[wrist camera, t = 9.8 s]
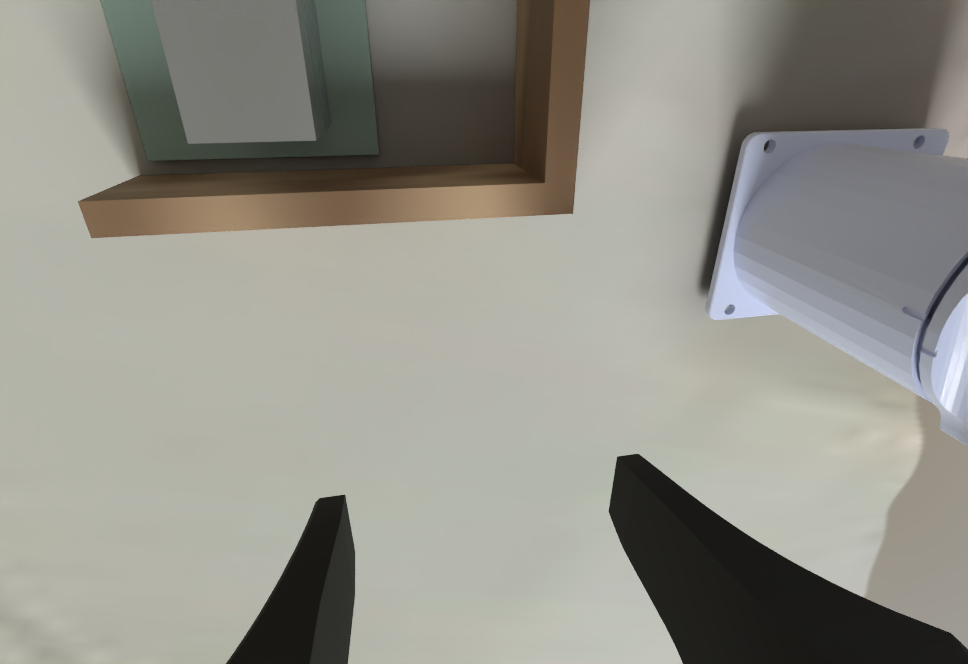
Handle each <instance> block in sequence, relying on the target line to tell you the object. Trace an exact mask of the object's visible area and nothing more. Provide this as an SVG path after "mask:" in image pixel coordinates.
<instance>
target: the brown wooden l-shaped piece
mask: <svg viewBox="0 0 968 664" xmlns="http://www.w3.org/2000/svg"><path fill="white" fill-rule="evenodd" d="M589 6H590V0H518V10H517V51H516V92H515V132H514V163H511V164H480V165H449V166H418V167H387V168H356V169H325V170H294V171H263V172H232V173H201V174H170V175H140V176H137V177H135V178H132V179H130V180H128V181H125V182H123V183H121V184H118V185H116V186H113V187H111V188H109V189H106V190H104V191H102V192H99V193H97V194H95V195H92V196H90V197H87V198H85V199H83V200H80V201H78V203H79V206H80V208H81V211H82V214H83V217H84V219H85V222H86V225H87V227H88V230H89V233H90V235H91V238H101V237H121V236H140V235H160V234H180V233H199V232H219V231H239V230H258V229H278V228H298V227H317V226H337V225H357V224H377V223H396V222H416V221H436V220H455V219H475V218H495V217H514V216H534V215H554V214H573V206H574V193H575V181H576V168H577V156H578V143H579V131H580V118H581V106H582V93H583V81H584V68H585V56H586V43H587V31H588V18H589Z"/></svg>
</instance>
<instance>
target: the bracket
mask: <svg viewBox="0 0 968 664" xmlns="http://www.w3.org/2000/svg"><path fill="white" fill-rule="evenodd" d="M151 2H152V6H153V10H154V14H155V18H156V22H157V26H158V30H159V33H160V37H161V41H162V45H163V49H164V53H165V57H166V61H167V64H168V68H169V72H170V76H171V80H172V84H173V88H174V92H175V95H176V99H177V103H178V107H179V111H180V115H181V119H182V123H183V126H184V130H185V134H186V138H187V142H188V144H198V143H239V142H280V141H316V140H317V139H318V138H319V137H320V136H321V135H322V134H323V133H324V132H325V130H326V129H327V128H328V127H329V126H330V125H331V117H330V110H329V102H328V95H327V87H326V80H325V72H324V64H323V57H322V49H321V42H320V34H319V27H318V19H317V11H316V4H315V0H151Z"/></svg>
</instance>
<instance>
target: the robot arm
mask: <svg viewBox="0 0 968 664" xmlns="http://www.w3.org/2000/svg"><path fill="white" fill-rule="evenodd" d="M915 139H916V141H915ZM948 140H949V132H948V131H947V130H946V129H942V128H913V129H871V130H828V131H785V132H754V133H751V134H749V135H748V136H747V137H746V138H745V139H744V141H743V143H742V145H741V149H740V154H739V158H738V163H737V167H736V172H735V176H734V181H733V186H732V190H731V195H730V199H729V204H728V208H727V213H726V217H725V222H724V226H723V231H722V235H721V240H720V244H719V249H718V254H717V258H716V263H715V267H714V272H713V276H712V281H711V285H710V290H709V294H708V299H707V303H706V308H705V312H706V314H707V315H708V316H709V317H710V318H712V319H713V320H722V319H732V318H743V317H754V316H764V315H775V314H781V315H783V316H784V317H786V318H788V319H790V320H791V321H793V322H795V323H796V324H798V325H800V326H802V327H803V328H805V329H807V330H808V331H810V332H812V333H813V334H815V335H817V336H819V337H820V338H822V339H824V340H825V341H827V342H829V343H830V344H832V345H834V346H836V347H837V348H839V349H841V350H842V351H844V352H846V353H847V354H849V355H851V356H853V357H854V358H856V359H858V360H859V361H861V362H863V363H864V364H866V365H868V366H870V367H871V368H873V369H875V370H876V371H878V372H880V373H882V374H883V375H885V376H887V377H888V378H890V379H892V380H893V381H895V382H897V383H899V384H900V385H902V386H904V387H905V388H907V389H909V390H910V391H912V392H914V393H916V394H917V395H919V396H921V397H922V398H924V399H926V400H928V401H929V402H931V403H933V404H934V405H935V406H936V407H937V408H938V409H939V411H940V413H941V423H940V429H941V430H942V431H944V432H946V433H947V434H949V435H950V436H952V437H954V438H955V439H957V440H958V441H960V442H962V443H963V444H965V445H966V446H968V159H965V158H958V157H951V156H944V155H943V153H944V150H945V148H946V145H947V143H948ZM767 141H769V146H768V148H767V149H766V150H765V151H764V145H765V143H766V142H767ZM914 141H915V143H914ZM728 305H730V306H729V308H728V309H727V310H726V311H724V310H725V308H726V307H727V306H728ZM609 514H610V516H611V519H612V521H613V524H614V527H615V529H616V532H617V534H618V537H619V539H620V542H621V544H622V546H623V549H624V550H625V552H626V554H627V556H628V558H629V560H630V562H631V564H632V566H633V567H634V569H635V571H636V573H637V575H638V577H639V578H640V580H641V582H642V584H643V586H644V588H645V589H646V591H647V593H648V595H649V597H650V599H651V600H652V602H653V604H654V606H655V608H656V609H657V611H658V613H659V615H660V617H661V619H662V620H663V622H664V624H665V626H666V628H667V630H668V632H669V634H670V636H671V638H672V640H673V642H674V644H675V646H676V648H677V651H678V653H679V655H680V657H681V660H682V662H683V664H968V649H967V648H966V647H965V646H964V645H963V644H962V643H961V642H960V641H959V640H958V639H956V638H955V637H954V636H953V635H952V634H951V633H949V632H946V631H944V630H941V629H939V628H936V627H934V626H931V625H929V624H926V623H923V622H921V621H918V620H916V619H913V618H911V617H908V616H905V615H903V614H900V613H898V612H895V611H893V610H890V609H888V608H886V607H883V606H881V605H879V604H877V603H874V602H872V601H870V600H868V599H865V598H863V597H861V596H859V595H857V594H854V593H852V592H850V591H848V590H846V589H844V588H842V587H840V586H838V585H835V584H833V583H831V582H830V581H828V580H826V579H824V578H822V577H820V576H818V575H816V574H814V573H812V572H810V571H808V570H806V569H804V568H803V567H801V566H799V565H797V564H795V563H793V562H792V561H790V560H788V559H786V558H785V557H783V556H781V555H780V554H778V553H776V552H774V551H773V550H771V549H769V548H768V547H766V546H764V545H763V544H761V543H759V542H758V541H756V540H755V539H753V538H751V537H750V536H748V535H747V534H745V533H744V532H742V531H741V530H739V529H738V528H736V527H735V526H733V525H732V524H730V523H729V522H728V521H726V520H725V519H723V518H722V517H720V516H719V515H718V514H716V513H715V512H713V511H712V510H711V509H709V508H708V507H706V506H705V505H704V504H702V503H701V502H700V501H698V500H697V499H696V498H694V497H693V496H692V495H690V494H689V493H688V492H686V491H685V490H684V489H683V488H681V487H680V486H679V485H677V484H676V483H675V482H674V481H672V480H671V479H670V478H669V477H667V476H666V475H665V474H663V473H662V472H661V471H660V470H658V469H657V468H656V467H655V466H653V465H652V464H651V463H650V462H648V461H647V460H646V459H644V458H643V457H642V456H640V455H639V454H634V455H626V456H619V457H617V462H616V468H615V475H614V481H613V488H612V494H611V500H610V507H609ZM354 598H355V549H354V543H353V538H352V532H351V526H350V520H349V515H348V509H347V503H346V497H345V495H340V496H333V497H325V498H320V499H319V500H318V501H317V502H316V503H315V505H314V508H313V511H312V513H311V516H310V518H309V520H308V523H307V525H306V527H305V530H304V532H303V534H302V536H301V538H300V540H299V542H298V545H297V547H296V549H295V551H294V553H293V554H292V556H291V558H290V560H289V562H288V564H287V566H286V568H285V570H284V572H283V574H282V576H281V577H280V579H279V581H278V583H277V585H276V586H275V588H274V590H273V591H272V593H271V595H270V596H269V598H268V600H267V602H266V603H265V605H264V607H263V608H262V610H261V612H260V613H259V615H258V617H257V618H256V620H255V621H254V623H253V625H252V626H251V628H250V629H249V631H248V632H247V634H246V635H245V637H244V638H243V640H242V641H241V643H240V644H239V646H238V647H237V649H236V650H235V652H234V653H233V655H232V656H231V657H230V659H229V660H228V662H227V663H226V664H348V655H349V645H350V636H351V627H352V617H353V608H354Z"/></svg>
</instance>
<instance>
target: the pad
mask: <svg viewBox="0 0 968 664" xmlns="http://www.w3.org/2000/svg"><path fill="white" fill-rule="evenodd" d="M100 1H101V5H102V8H103V11H104V15H105V18H106V22H107V25H108V28H109V32H110V35H111V39H112V42H113V45H114V49H115V52H116V55H117V59H118V62H119V66H120V69H121V72H122V76H123V79H124V82H125V86H126V89H127V93H128V96H129V99H130V103H131V106H132V110H133V113H134V116H135V120H136V123H137V126H138V130H139V133H140V137H141V140H142V143H143V147H144V150H145V154H146V157H147V160H148V161H160V160H196V159H232V158H268V157H304V156H340V155H376V154H379V146H378V135H377V124H376V114H375V103H374V92H373V81H372V70H371V59H370V49H369V38H368V27H367V16H366V5H365V0H315V4H316V11H317V19H318V27H319V34H320V42H321V49H322V57H323V64H324V72H325V80H326V87H327V95H328V102H329V110H330V117H331V125H330V126H329V127H328V128H327V129H326V130H325V132H324V133H323V134H322V135H321V136H320V137H319V138H318V139H317V140H316V141H280V142H239V143H198V144H188V142H187V138H186V134H185V130H184V126H183V123H182V119H181V115H180V111H179V107H178V103H177V99H176V95H175V92H174V88H173V84H172V80H171V76H170V72H169V68H168V64H167V61H166V57H165V53H164V49H163V45H162V41H161V37H160V33H159V30H158V26H157V22H156V18H155V14H154V10H153V6H152V2H151V0H100Z"/></svg>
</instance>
